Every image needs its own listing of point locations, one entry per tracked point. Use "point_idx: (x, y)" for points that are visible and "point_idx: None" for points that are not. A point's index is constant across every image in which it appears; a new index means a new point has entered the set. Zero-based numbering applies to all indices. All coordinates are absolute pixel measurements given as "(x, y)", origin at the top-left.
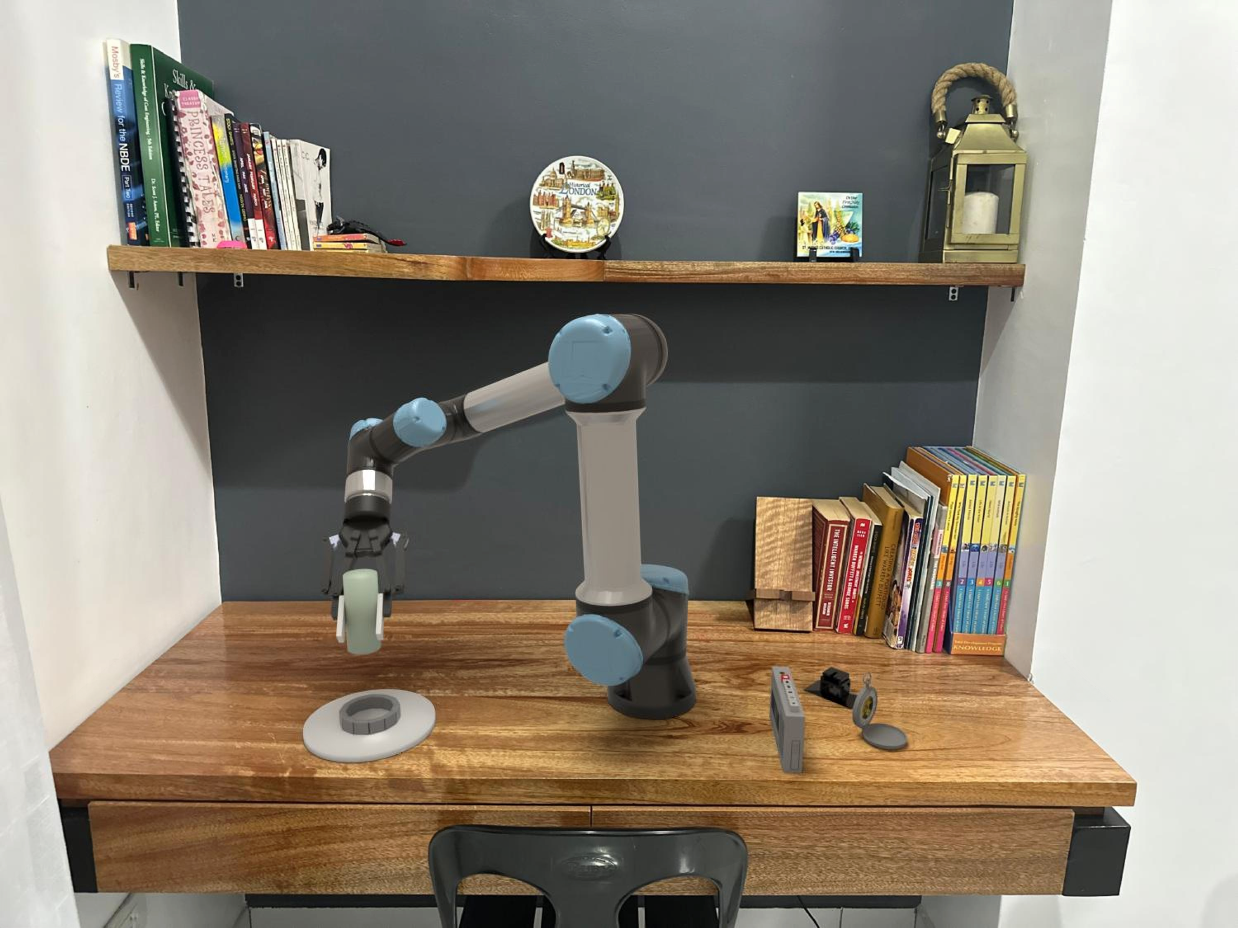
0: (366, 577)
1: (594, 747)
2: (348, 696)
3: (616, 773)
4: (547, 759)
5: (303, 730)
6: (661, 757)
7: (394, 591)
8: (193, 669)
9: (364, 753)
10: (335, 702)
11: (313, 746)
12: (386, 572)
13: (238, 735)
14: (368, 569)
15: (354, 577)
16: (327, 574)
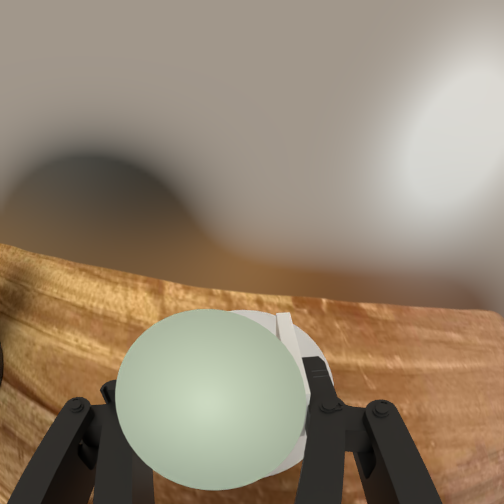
0: (164, 343)
1: (30, 294)
2: (287, 463)
3: (33, 255)
4: (64, 284)
5: (331, 375)
6: (6, 270)
7: (102, 406)
8: (479, 501)
9: (238, 312)
10: (304, 448)
11: (307, 335)
12: (98, 463)
13: (406, 381)
14: (168, 471)
15: (230, 352)
16: (395, 463)
